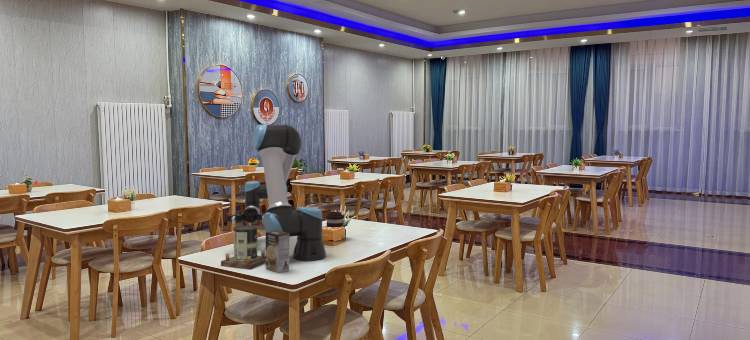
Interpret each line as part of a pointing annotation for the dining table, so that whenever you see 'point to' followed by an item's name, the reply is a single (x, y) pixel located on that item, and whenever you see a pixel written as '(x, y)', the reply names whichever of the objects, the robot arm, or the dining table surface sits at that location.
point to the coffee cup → (334, 219)
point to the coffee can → (245, 243)
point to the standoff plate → (245, 265)
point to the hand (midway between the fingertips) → (247, 220)
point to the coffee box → (277, 251)
